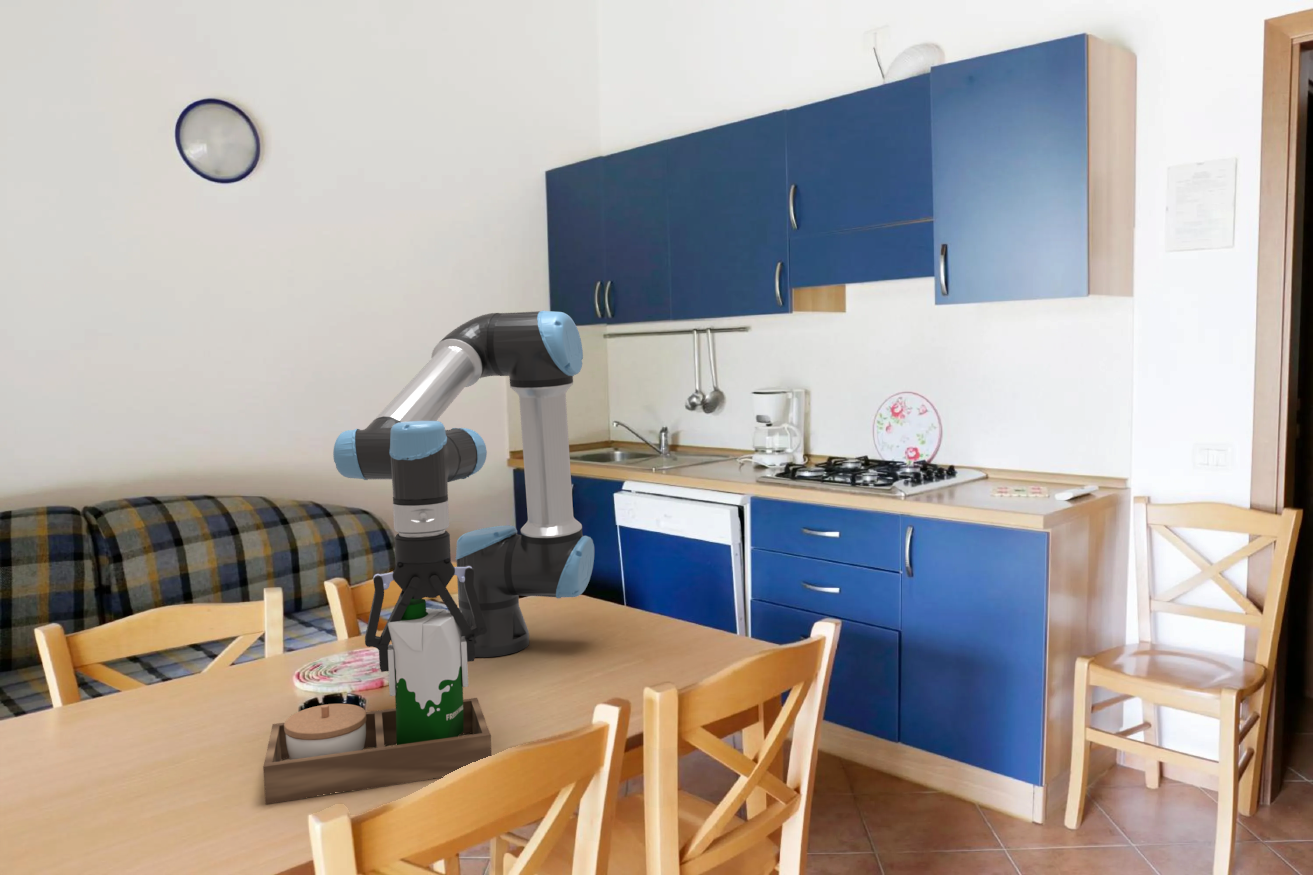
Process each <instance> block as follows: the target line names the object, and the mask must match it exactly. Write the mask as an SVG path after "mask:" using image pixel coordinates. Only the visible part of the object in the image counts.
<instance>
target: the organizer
mask: <svg viewBox="0 0 1313 875" xmlns="http://www.w3.org/2000/svg"><path fill="white" fill-rule="evenodd" d="M284 723H285V722H278V723H272V726H271V730H270V735H269V739H268V743H267V747H266V752H265V756H264V762H263V766H262V767H263V783H264V799H265V800H264V801H265V805H270V804H276V803H283V802H289V801H296V800H295V799H297V800H302V799H301V798H304V799H307V798H306V797H310V798H315V797H314V796H317V795H323V794H330V793H335V792H343V791H350V792H353V791H352V790H356V791H362V789H363V790H368V789H367V788H370V789H374V788H375V787H376V788H381V787H388V786H395V784H396V785H402V784H401V783H403V784H407V783H408V784H409V783H414V782H415V783H417V782H422V781H427V780H428V779H429V780H434V779H433V778H436V779H440V777H442V776H445V775H447V774H449V773H451V772H453V771H455V770H457V769H459V768H461V767H463V766H466V765H468V764H470V763H472V762H476V761H478V760H480V759H483V758H486V757H488V756H492V735H491V732H490V730H489V726H488V724H487V721H486V718H485V716H484V712H483V710H482V707H481V705H480V702H479V698H478V697H474V698H473V697H471V698H465V699H464V698H463V728H464V731H463V732H462V733H461V734H460V735H459V736H458V737H451V738H444V739H437V740H429V741H422V742H415V743H408V744H401V745H397V742H396V707H395V708H387V709H379V710H371V711H370V710H369V711H366V740H365V745H364V749H363V750H358V751H351V752H344V753H336V754H329V755H322V756H315V757H308V758H301V759H293V760H290V757H289V754H288V750H287V745H286V735H285V731H284ZM388 745H389V746H388ZM442 778H443V777H442ZM376 788H375V789H376ZM343 793H344V792H343ZM330 795H331V794H330ZM323 796H324V795H323ZM317 797H318V796H317Z"/></svg>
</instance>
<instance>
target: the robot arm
mask: <svg viewBox="0 0 1313 875" xmlns="http://www.w3.org/2000/svg"><path fill="white" fill-rule="evenodd" d="M583 352H584V351H583V343H582V340H581V335H580V332H579V330H578V327H577V324H575V322H574V320H573V318H572V317H571V316H570V315H568V314H567V313H565V312H562V311H551V310H540V311H535V310H534V311H522V312H492V313H486V314H482V315H480V316H476V317H473V318H472V319H470V320H468V321H465V322H464V323H462V324H460V325H459V326H457V327H456V328H454V329H453V330H452V331H450V332H449V333H448V334H446V335H445V336H444V337H443V338H442V339H441V340H440V341H439V342H438V343H436V345H435V347H434V348H433V350H432V353H431V359H430V360H428V362H426V364H425V365H424V366H423V368H421V369H420V370H419V371H418V372H417V374H416V375H415V376H414V377H413V378H412V379H411V380H410V381H409V382H408V383H407V384H406V385H405V386H404V387H403V388H402V390H401V391H400V392H399V393H398V394H397V395H396V396H395V397H394V398H393V399H392V400H391V401H390V402H389V403H388V404H387V405H386V407H384V409H383V410H381V412H380V413H379V414H378V415H377V416H376V417H375V418H374V419H373V420H372V421H371V422H370V423H369V425H368V426H367V427H366V428H364V429H359V428H354V429H350V430H344V431H341V433H340V434H339V435H338V436H337V437H336V439H335V442H334V445H333V453H332V454H333V455H332V456H333V463H335V469H336V471H338V473H339V474H340V475H341V476H343V477H345V478H347V479H356V480H358V479H359V480H364V481H368V480H391V483H392V486H391V487H392V512H393V514H392V516H393V530H394V531H395V532H396V533H397V534H395V536H394V557H395V565H394V569H393V570H392V572H385V573H380V572H376V573H374V574H373V575H372V577H373V578H372V580H373V586H374V593H373V598H372V601H371V602H372V603H371V606H370V613H369V617H368V621H367V625H366V631H365V635H364V644H365V646H366V647H368V648H370V647H371V648H376V649H377V650H378V656H379V657H378V659H379V661H378V662H379V669H380V670H379V671H380V672H381V673H383V672H385V673H386V672H388V692H389V697H395V695H396V694H395V672H394V651H393V646H392V643H391V635H390V632H389V628H388V623H389V622H396V621H400V620H401V618H402V616H403V614H404V612H405V610H406V608H407V606H408V605H409V603H410V601H411V599H414V600H417V599H424V598H427V599H436V598H438V597H440V599H441V600H442V602H443V604H444V605H445V607H446V608H447V610H449V612H450V613H451V615H452V616H453V617H454V620H455V621H456V623H457V624H458V626H459V628H460V629H461V661H462V686H463V688H467V687H469V672H468V663H469V662H475V658H492V657H500V656H506V655H512V654H515V653H518V652H520V651H522V650H525V649H526V648H527V647H528V646H529V645H530V632H529V631H530V630H529V628H528V626H527V622H526V621H525V618H524V615H523V613H522V610H521V607H520V601H519V600H520V598H519V596H522V597H523V596H526V597H542V598H545V597H546V598H556V599H562V598H577V597H579V596H581V595H582V594H583V593H584V592H585V591H586V588H587V587H588V584H589V582H590V580H591V578H592V577H591V576H592V573H593V569H594V564H595V562H594V560H595V544H594V540H593V538H591V536H588V535H583V525H582V523H581V522H580V521H578V520H577V519H576V518H575V517H574V507H573V490H572V488H573V486H572V477H571V459H570V443H569V441H570V440H569V439H570V438H569V425H568V412H567V411H568V410H567V407H568V406H567V394H566V393H567V391H568V390H570V389H571V387H572V386H573V385H574V377H575V375H578V374H579V373H580V372H581V370H582V368H583V360H584V359H583V358H584V353H583ZM497 376H498V377H508V378H509V387H510V389H511V390H512V391H514V393H516V394H517V395H518V399H519V400H518V401H519V413H520V426H521V440H522V443H521V444H522V456H523V466H524V468H523V470H524V484H525V498H526V508H527V513H526V514H527V521H526V523H525V524H523V526H522V527H521V528H520V534H518V530H517V527H516V526H514V525H507V524H506V525H498V526H490V527H483V528H478V529H475V530H471V531H467V532H466V533H463V534H462V535H460V536H459V537H458V539H456V540H457V541H456V551H455V552H456V553H455V554H456V555H455V561H456V566H454V564H453V563H452V559H451V558H452V556H451V555H452V554H451V536H450V535H451V534H450V532H449V531H448V530H447V529H448V528H449V527H450V516H449V515H450V514H449V493H448V491H449V489H448V485H449V484H448V483H450V482H455V481H458V480H465V479H467V478H470V476H472V475H473V476H474V474H477V472H479V471H480V470H481V469H482V468H483V466H484V465H485V462H486V460H487V454H488V451H487V445H486V443H485V441H484V439H483V437H482V436H481V435H480V434H479V433H478V432H476V431H475V430H473V429H470V428H465V427H452V428H451V429H446V428H445V427H446V426H445V425H444V423H442V422H441V421H439V418H440V417H441V416H442V415H443V413H444V412H445V411H446V410H447V409H448V408H449V406H450V405H451V404H452V403H453V402H454V400H455V399H456V398H457V397H458V396H459V395H460V393H461V392H462V391H463V390H464V389H465V388H468V387H471V386H473V385H474V384H477V382H478V381H479V379H482V378H487V377H497ZM454 576H456V578H457V582H456V583H457V598H458V601H457V602H458V605H457V603H456V602H455V600H454V598H453V597H452V595H451V593H450V592H449V590H448V589H447V586H448V585H449V583H450V582H451V580H452V579H453V577H454ZM392 581H394V582H395V583H396V584H397V585H398V586H399V588H400V589H401V592H400V593H399V596H398V599H397V601H396V603H395V605H394V607H393V609H392V611H391V613H390V616H389V618H388V620H387V621H386V624H385V626H384V627H383V630H382V632H381V634H380V636H378V635H377V631H378V626H379V621H380V616H381V612H382V607H383V603H384V597H385V591H386V590H388V589H389V588H390V584H391V582H392ZM461 611H462V613H461ZM390 643H391V644H390Z"/></svg>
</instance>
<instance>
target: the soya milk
mask: <svg viewBox="0 0 1313 875" xmlns="http://www.w3.org/2000/svg"><path fill="white" fill-rule="evenodd" d="M461 613H462V611H461ZM388 628H389V632H390V635H391V641H390V643H391V644H392V646H393V651H394V672H395V694H396V695H395V696H394V700H395V708H396V742H397V744H396V745H401V744H408V743H415V742H422V741H429V740H437V739H444V738H451V737H458V736H461V735H462V734H461V733H462V732H463V731H464V728H463V700H464V687H463V686H462V661H461V629H460V628H459V626H458V624H457V623H456V621H455V620H454V617H453V616H452V615H451V613H450V612H449V610H448V609H445V608H437V609H436V608H427V603H426V599H424V598H422V599H417V600H414V599H411V601H410V603H409V605H408V606H407V608H406V610H405V612H404V614H403V616H402V618H401V620H400V621H396V622H389V623H388ZM460 734H461V735H460Z"/></svg>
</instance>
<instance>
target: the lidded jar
mask: <svg viewBox="0 0 1313 875" xmlns="http://www.w3.org/2000/svg"><path fill="white" fill-rule="evenodd" d="M366 712H367V711H366V710H365V709H364V707H361V706H359V705H356V704H351V703H328V704H327V703H326V704H321V705H317V706H312V707H309V708H305V709H302V710H300V711H298V712H295V713H293V714H291V715H290V716H288V717H287V718H286V720H284V721H285V722H283V723H284V731H285V735H286V745H287V750H288V754H289V757H290V758H289V760H293V759H301V758H308V757H315V756H322V755H329V754H336V753H344V752H351V751H358V750H365V748H364V745H365V740H366Z"/></svg>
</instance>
